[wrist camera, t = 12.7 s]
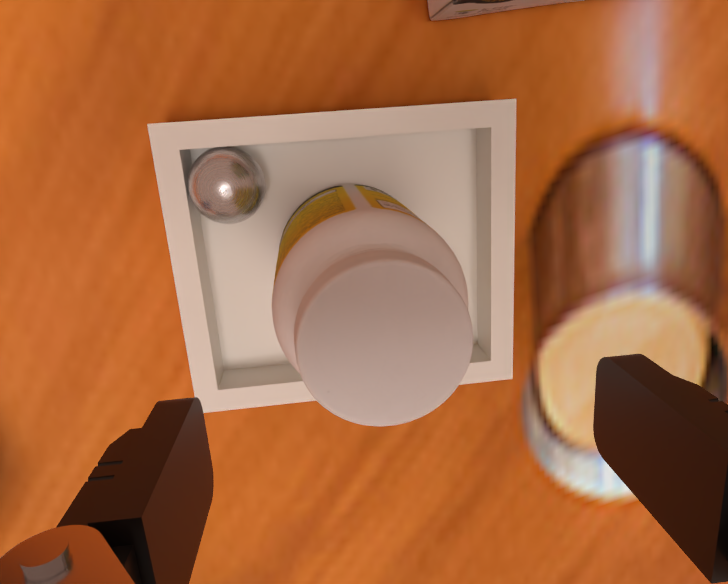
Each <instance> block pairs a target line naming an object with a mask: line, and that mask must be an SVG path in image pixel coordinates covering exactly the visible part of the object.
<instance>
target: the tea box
mask: <svg viewBox="0 0 728 584" xmlns="http://www.w3.org/2000/svg"><path fill="white" fill-rule="evenodd" d="M575 1H583V0H428V10H429V17H430V19H431V21H435V20H447V19H455V18H462V17H469V16H475V15H481V14H487V13H494V12H501V11H508V10H515V9H522V8H529V7H536V6H542V5H550V4H557V3H565V2H575Z"/></svg>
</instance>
